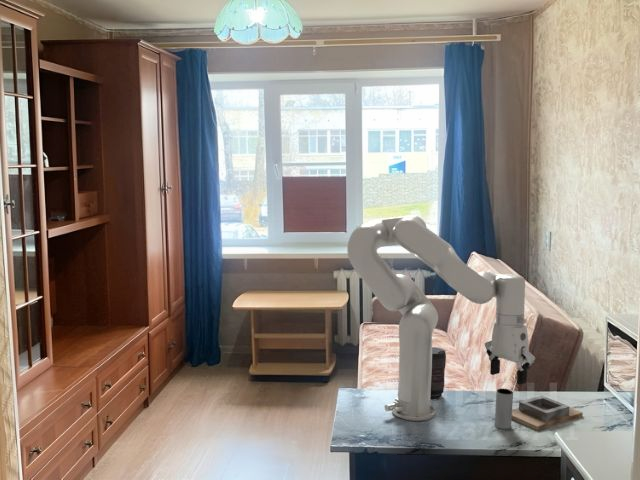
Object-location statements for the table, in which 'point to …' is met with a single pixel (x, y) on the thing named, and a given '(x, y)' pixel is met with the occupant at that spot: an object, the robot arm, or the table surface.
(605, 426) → the table surface
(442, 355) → the camera lens
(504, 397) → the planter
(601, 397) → the table surface
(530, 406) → the socket board
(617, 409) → the table surface
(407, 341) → the robot arm
